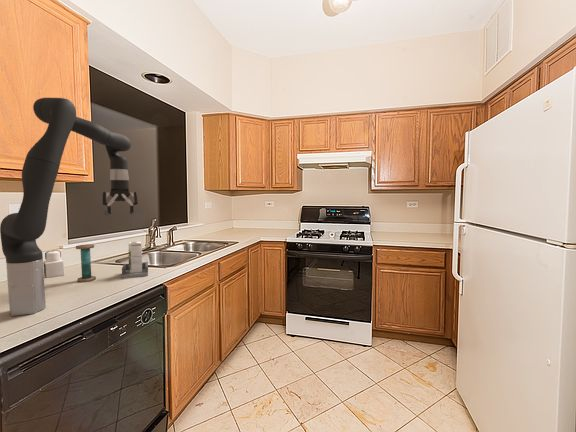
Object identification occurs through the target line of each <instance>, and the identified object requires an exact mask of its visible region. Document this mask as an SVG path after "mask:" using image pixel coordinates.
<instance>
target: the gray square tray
mask: <svg viewBox="0 0 576 432" xmlns="http://www.w3.org/2000/svg"><path fill="white" fill-rule="evenodd" d="M142 277H143V278H144V277H149V262H148V261H145V262H143V261H142V272H138V273H129V263H124V264H123V265H122V267H121V279H132V278H134V279H135V278H142Z"/></svg>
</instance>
